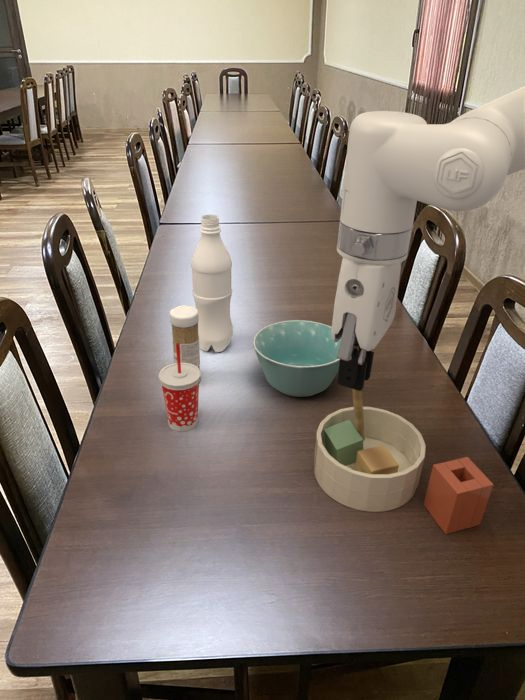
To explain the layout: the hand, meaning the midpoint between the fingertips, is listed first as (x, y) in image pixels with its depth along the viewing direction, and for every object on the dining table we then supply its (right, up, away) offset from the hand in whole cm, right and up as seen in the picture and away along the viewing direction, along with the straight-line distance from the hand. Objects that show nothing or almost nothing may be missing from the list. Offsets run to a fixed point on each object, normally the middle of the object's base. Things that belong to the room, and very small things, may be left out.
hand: (353, 380), depth 67 cm
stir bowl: (+3, -13, +8) cm, 16 cm away
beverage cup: (-24, -7, +16) cm, 30 cm away
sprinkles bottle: (-24, -2, +26) cm, 36 cm away
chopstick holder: (+13, -17, +2) cm, 21 cm away
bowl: (-5, -2, +26) cm, 27 cm away
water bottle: (-21, +4, +36) cm, 42 cm away
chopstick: (+2, -9, +9) cm, 13 cm away
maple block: (+4, -14, +5) cm, 15 cm away
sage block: (0, -11, +9) cm, 14 cm away
